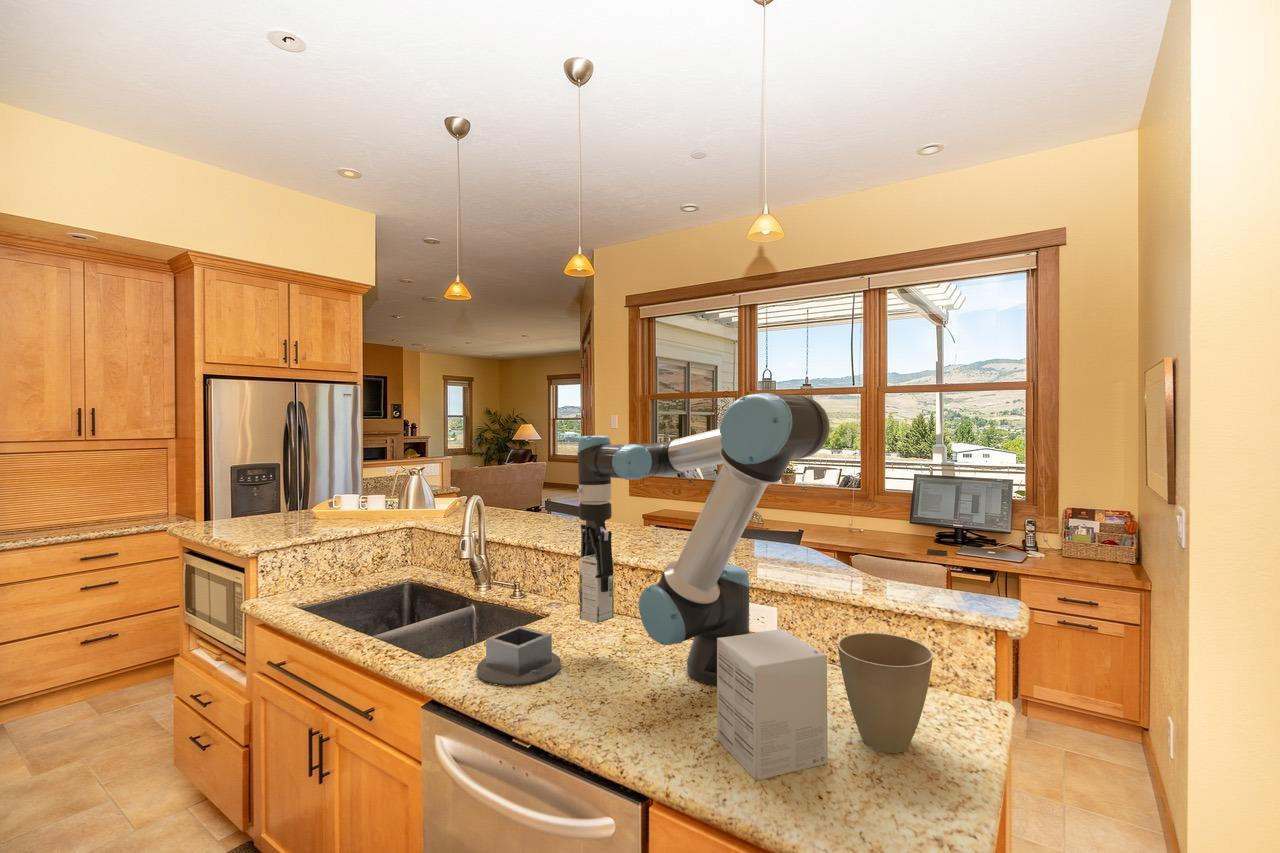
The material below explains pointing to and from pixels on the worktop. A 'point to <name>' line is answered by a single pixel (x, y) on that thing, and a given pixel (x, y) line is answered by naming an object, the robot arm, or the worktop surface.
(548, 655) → the duct collar
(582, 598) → the syrup box
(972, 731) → the worktop surface
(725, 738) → the supplement box
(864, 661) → the plant pot
